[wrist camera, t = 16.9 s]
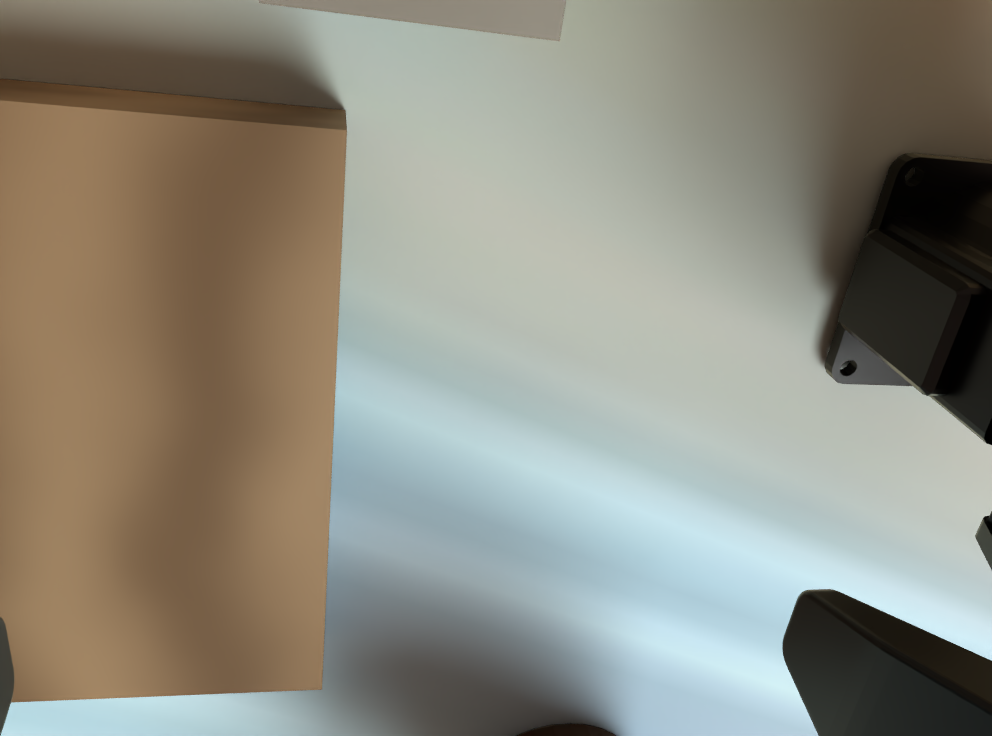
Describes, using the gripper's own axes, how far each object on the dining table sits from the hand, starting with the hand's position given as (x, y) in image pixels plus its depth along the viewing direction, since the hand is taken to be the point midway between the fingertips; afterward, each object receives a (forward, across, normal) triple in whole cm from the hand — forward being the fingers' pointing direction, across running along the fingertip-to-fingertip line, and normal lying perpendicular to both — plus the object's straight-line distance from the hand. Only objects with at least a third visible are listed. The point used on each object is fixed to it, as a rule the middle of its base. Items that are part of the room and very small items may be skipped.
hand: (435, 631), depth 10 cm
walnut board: (+13, -10, -5) cm, 17 cm away
